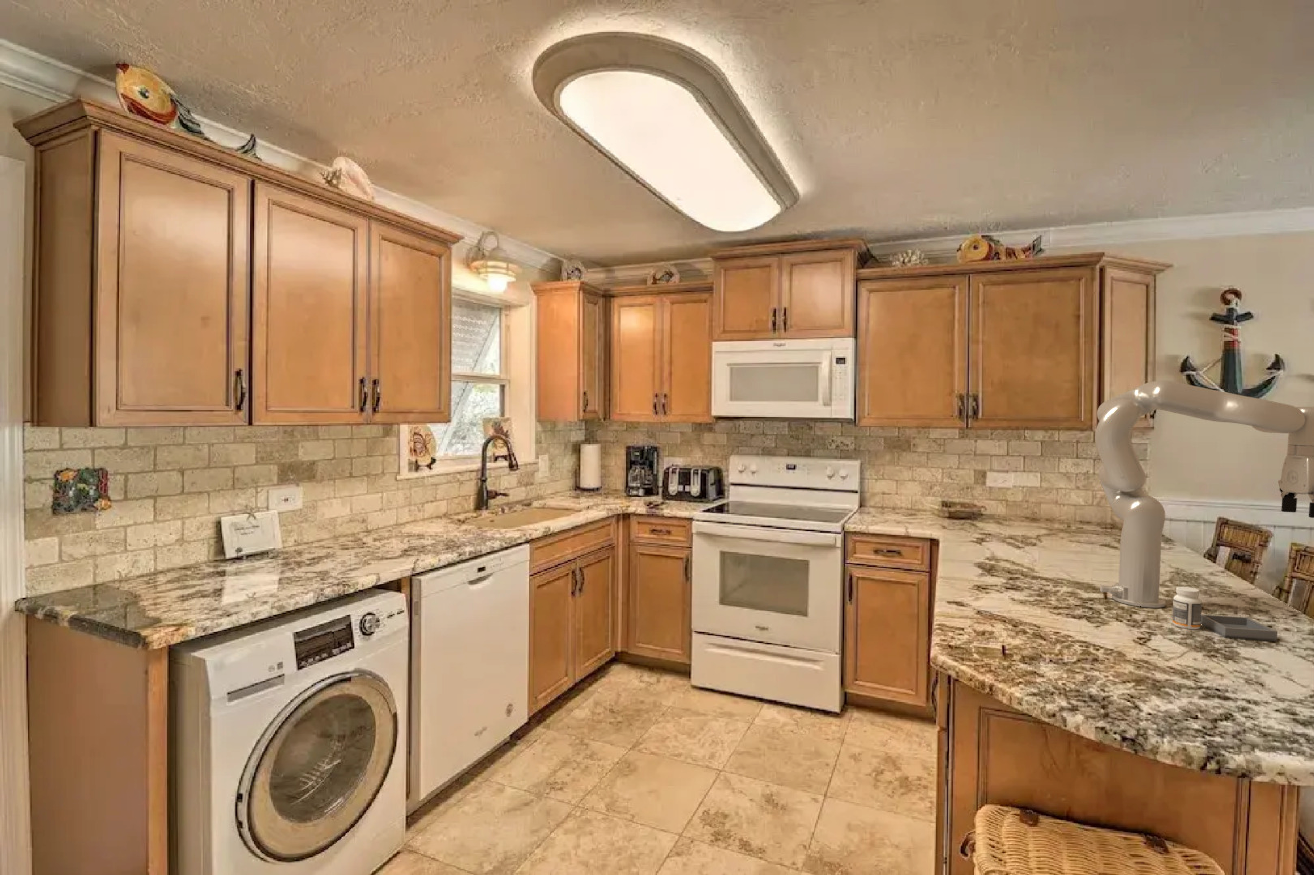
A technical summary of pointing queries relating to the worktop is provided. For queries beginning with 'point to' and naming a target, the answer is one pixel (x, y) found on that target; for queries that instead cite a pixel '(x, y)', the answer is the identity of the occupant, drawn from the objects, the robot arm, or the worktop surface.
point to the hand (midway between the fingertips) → (1302, 514)
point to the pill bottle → (1187, 608)
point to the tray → (1238, 628)
